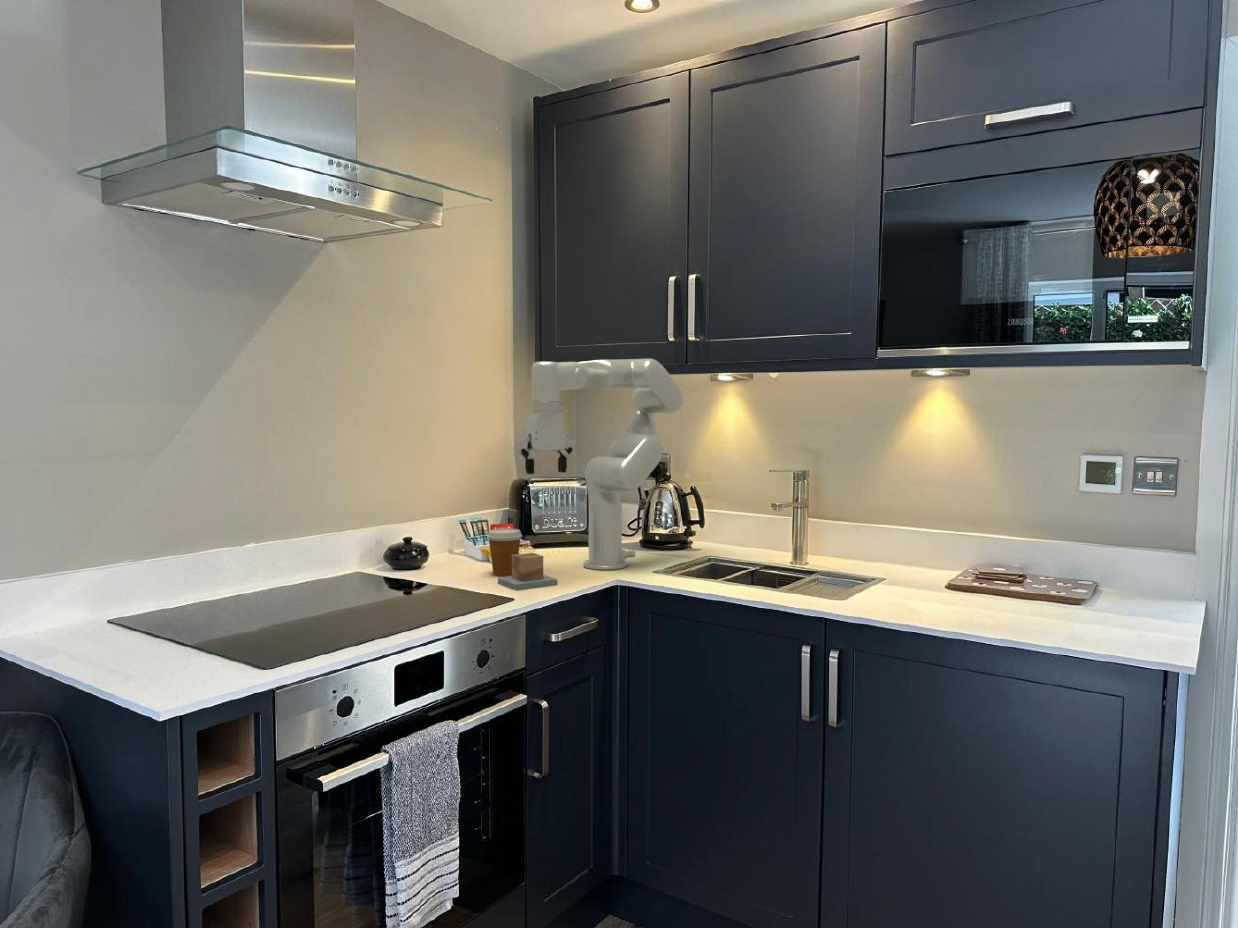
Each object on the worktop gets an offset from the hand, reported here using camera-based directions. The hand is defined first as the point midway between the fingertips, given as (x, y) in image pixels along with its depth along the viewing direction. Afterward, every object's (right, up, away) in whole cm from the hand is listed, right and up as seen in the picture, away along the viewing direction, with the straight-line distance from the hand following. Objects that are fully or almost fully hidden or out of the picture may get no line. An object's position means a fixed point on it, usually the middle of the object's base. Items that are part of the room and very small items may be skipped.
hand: (546, 472), depth 222 cm
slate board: (-4, -29, -6) cm, 30 cm away
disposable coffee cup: (-12, -28, +7) cm, 31 cm away
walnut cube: (-4, -27, -6) cm, 28 cm away
